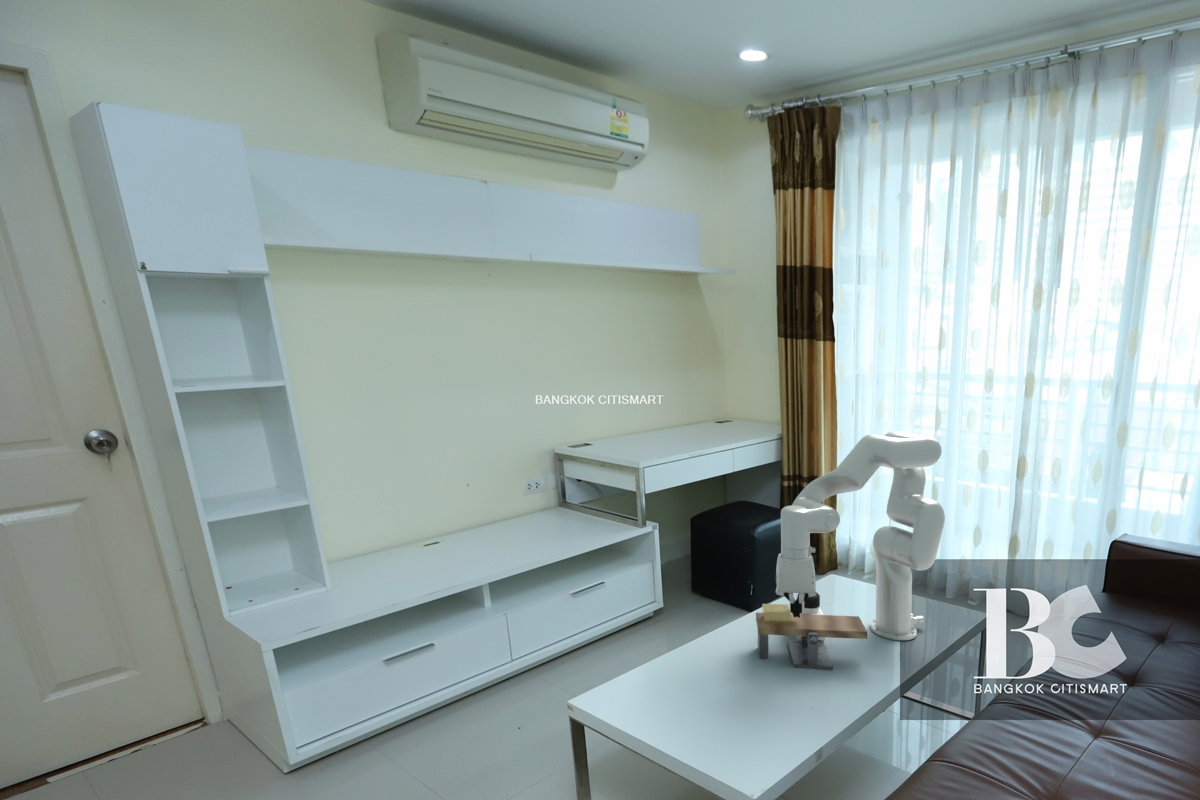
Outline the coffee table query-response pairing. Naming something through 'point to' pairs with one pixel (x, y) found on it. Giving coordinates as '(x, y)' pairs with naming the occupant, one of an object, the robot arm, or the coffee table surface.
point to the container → (812, 609)
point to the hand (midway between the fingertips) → (796, 615)
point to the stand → (802, 652)
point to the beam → (816, 626)
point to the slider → (776, 614)
